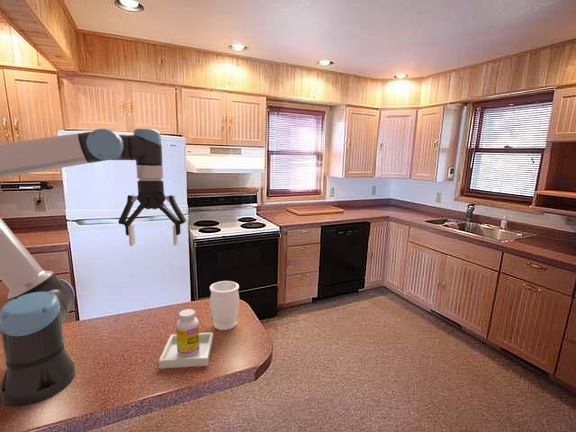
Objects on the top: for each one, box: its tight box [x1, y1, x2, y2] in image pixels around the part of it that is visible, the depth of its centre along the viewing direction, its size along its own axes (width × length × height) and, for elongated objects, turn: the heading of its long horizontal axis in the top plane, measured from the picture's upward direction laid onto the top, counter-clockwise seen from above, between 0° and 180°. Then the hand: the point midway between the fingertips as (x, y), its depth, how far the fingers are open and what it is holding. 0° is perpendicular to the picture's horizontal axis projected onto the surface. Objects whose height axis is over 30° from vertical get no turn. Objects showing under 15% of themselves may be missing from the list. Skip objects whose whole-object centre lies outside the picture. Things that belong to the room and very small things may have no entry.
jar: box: [209, 280, 240, 331], centre depth 109 cm, size 11×10×15 cm
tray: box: [158, 331, 214, 370], centre depth 94 cm, size 14×14×2 cm
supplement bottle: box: [175, 308, 200, 357], centre depth 93 cm, size 7×7×13 cm
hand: (154, 244), depth 99 cm, fingers open, 13 cm apart
